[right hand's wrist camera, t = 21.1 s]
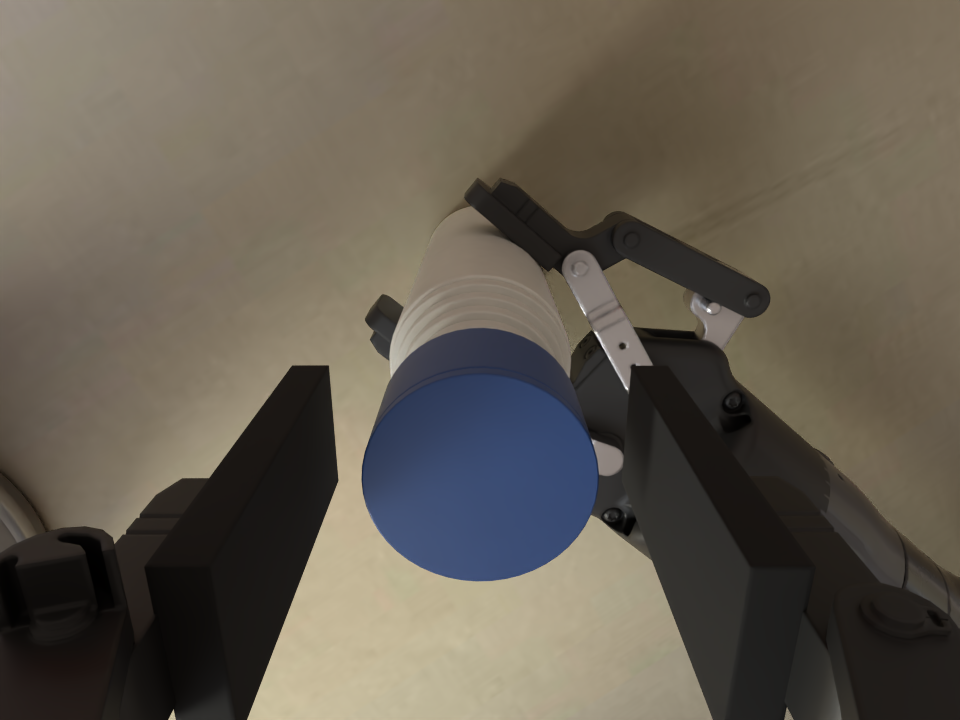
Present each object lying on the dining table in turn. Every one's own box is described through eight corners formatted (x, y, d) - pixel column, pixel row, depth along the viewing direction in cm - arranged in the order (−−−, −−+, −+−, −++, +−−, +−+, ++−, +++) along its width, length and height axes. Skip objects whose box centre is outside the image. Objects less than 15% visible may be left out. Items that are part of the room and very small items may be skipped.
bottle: (493, 330, 31) (511, 606, 14) (406, 273, 30) (306, 493, 13) (555, 245, 30) (660, 433, 13) (465, 183, 29) (443, 291, 12)
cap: (556, 518, 15) (571, 595, 13) (371, 492, 15) (349, 565, 13) (598, 344, 14) (624, 394, 11) (394, 311, 14) (375, 355, 11)
